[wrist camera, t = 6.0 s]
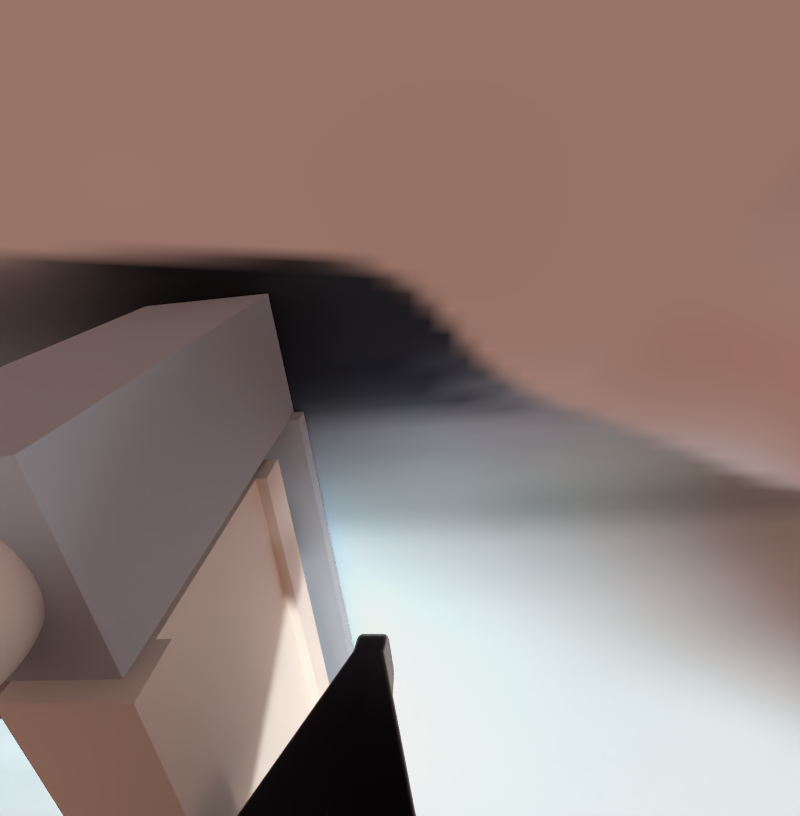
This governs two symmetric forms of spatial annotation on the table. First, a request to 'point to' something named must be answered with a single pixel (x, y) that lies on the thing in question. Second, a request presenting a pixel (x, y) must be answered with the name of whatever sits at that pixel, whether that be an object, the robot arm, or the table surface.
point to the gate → (190, 684)
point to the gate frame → (143, 481)
